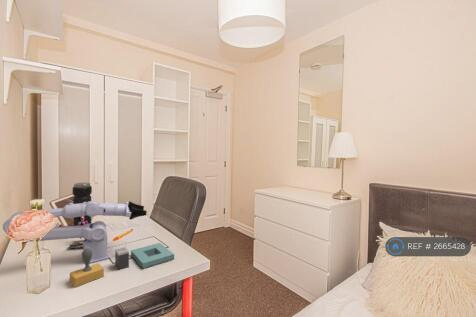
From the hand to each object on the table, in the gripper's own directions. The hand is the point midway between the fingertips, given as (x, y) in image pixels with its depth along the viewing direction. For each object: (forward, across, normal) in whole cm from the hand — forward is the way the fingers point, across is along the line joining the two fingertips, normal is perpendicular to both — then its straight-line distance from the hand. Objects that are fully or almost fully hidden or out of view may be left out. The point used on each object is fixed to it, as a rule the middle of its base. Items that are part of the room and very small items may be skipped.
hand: (144, 210), depth 118 cm
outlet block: (+4, -13, +18) cm, 22 cm away
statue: (-24, +18, +25) cm, 39 cm away
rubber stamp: (-21, -19, +22) cm, 36 cm away
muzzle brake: (-24, +43, +26) cm, 56 cm away
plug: (-8, -15, +20) cm, 26 cm away
